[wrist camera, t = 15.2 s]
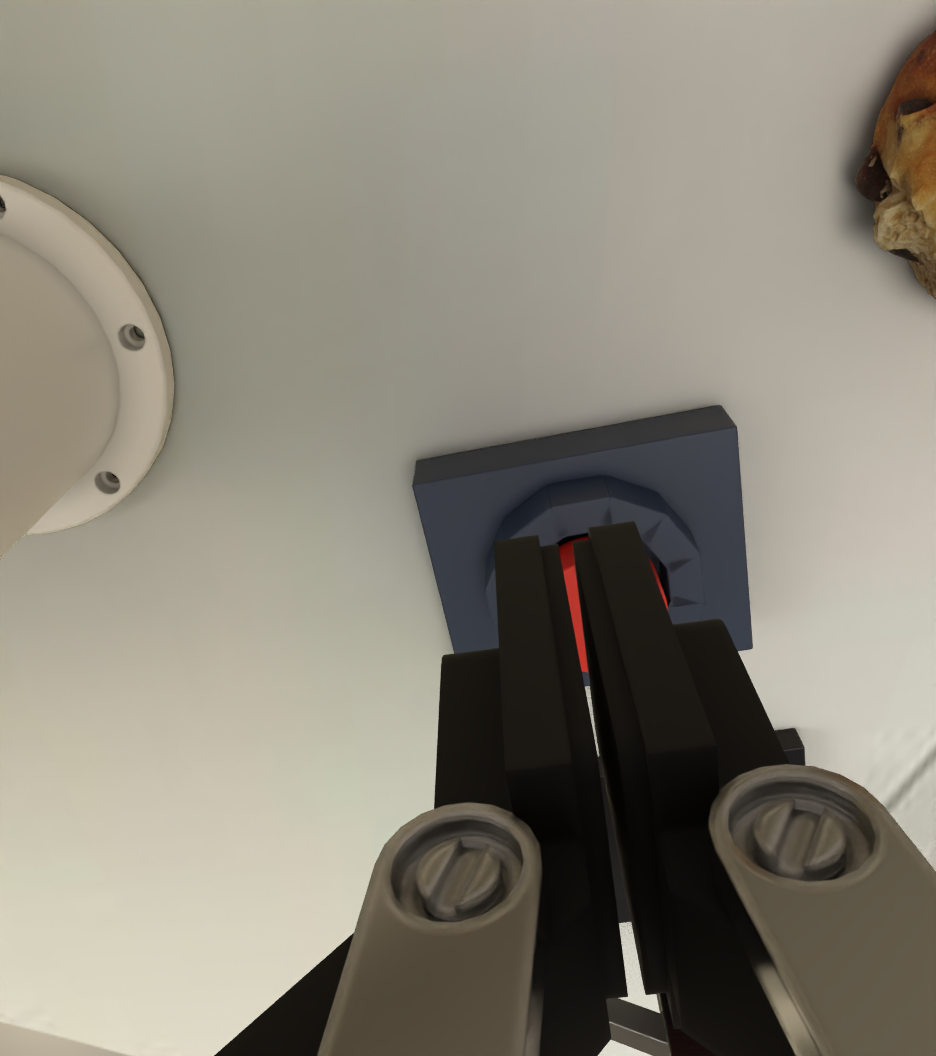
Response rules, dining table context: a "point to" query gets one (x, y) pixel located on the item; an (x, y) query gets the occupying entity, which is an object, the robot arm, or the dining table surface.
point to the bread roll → (906, 166)
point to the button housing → (594, 514)
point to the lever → (637, 1027)
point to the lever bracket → (681, 1046)
